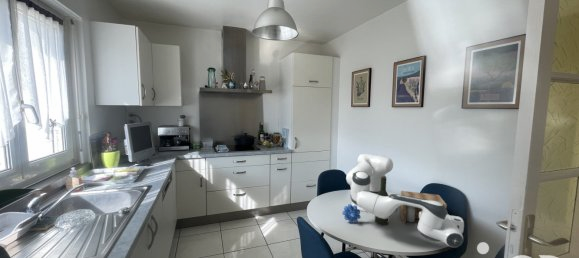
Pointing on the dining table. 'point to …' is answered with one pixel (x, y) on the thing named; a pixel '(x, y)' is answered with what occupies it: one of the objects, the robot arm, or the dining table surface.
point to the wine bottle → (382, 193)
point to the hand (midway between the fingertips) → (436, 213)
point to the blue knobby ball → (351, 213)
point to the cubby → (420, 196)
